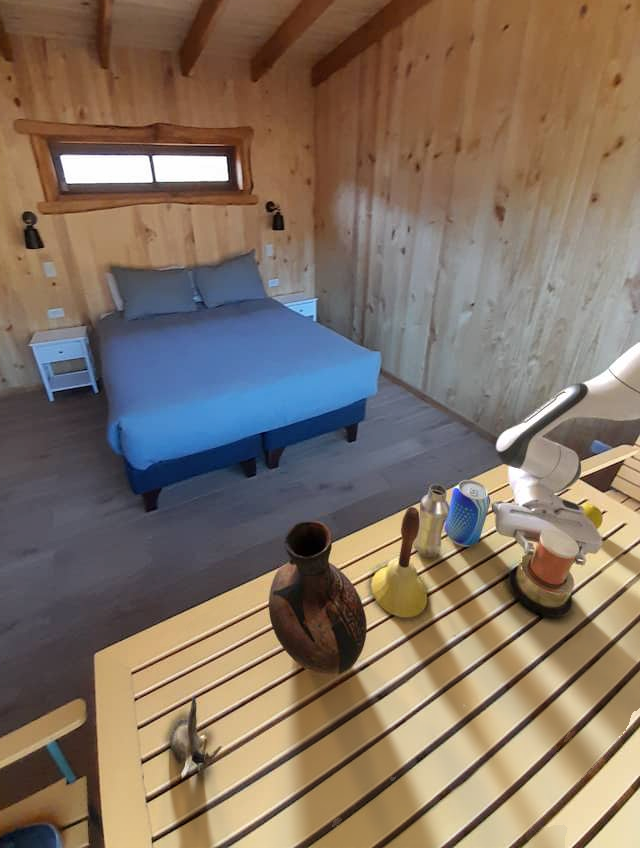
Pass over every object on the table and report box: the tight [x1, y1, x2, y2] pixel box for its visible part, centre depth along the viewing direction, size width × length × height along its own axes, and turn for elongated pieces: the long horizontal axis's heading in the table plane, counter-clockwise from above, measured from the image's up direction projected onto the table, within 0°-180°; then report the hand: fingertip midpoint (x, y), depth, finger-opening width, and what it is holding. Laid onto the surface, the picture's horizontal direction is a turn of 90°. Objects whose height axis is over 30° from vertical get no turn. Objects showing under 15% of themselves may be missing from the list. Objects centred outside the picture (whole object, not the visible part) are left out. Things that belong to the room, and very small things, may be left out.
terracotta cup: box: [530, 529, 579, 585], centre depth 85 cm, size 7×7×9 cm
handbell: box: [370, 506, 428, 618], centre depth 85 cm, size 12×12×25 cm
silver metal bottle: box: [412, 483, 450, 558], centre depth 96 cm, size 6×7×20 cm
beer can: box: [444, 479, 491, 547], centre depth 101 cm, size 8×8×16 cm
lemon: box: [581, 503, 604, 530], centre depth 103 cm, size 6×6×8 cm
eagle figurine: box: [169, 695, 222, 779], centre depth 66 cm, size 8×7×9 cm
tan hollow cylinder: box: [507, 552, 575, 620], centre depth 88 cm, size 12×12×8 cm
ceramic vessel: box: [268, 520, 368, 676], centre depth 75 cm, size 21×18×30 cm
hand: (555, 557), depth 84 cm, fingers open, 8 cm apart
